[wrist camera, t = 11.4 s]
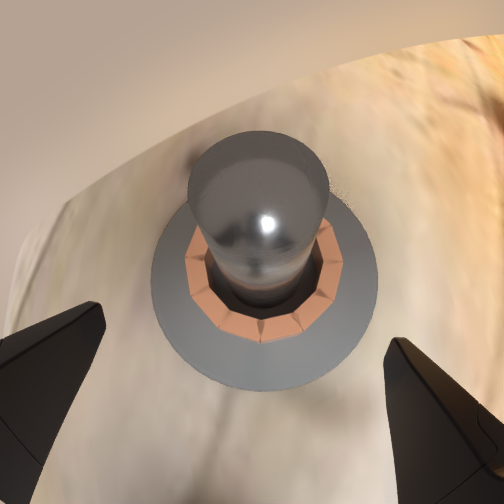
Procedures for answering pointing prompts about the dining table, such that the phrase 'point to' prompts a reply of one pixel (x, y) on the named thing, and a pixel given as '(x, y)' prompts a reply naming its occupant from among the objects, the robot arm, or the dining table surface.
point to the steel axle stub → (259, 212)
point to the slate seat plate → (266, 320)
